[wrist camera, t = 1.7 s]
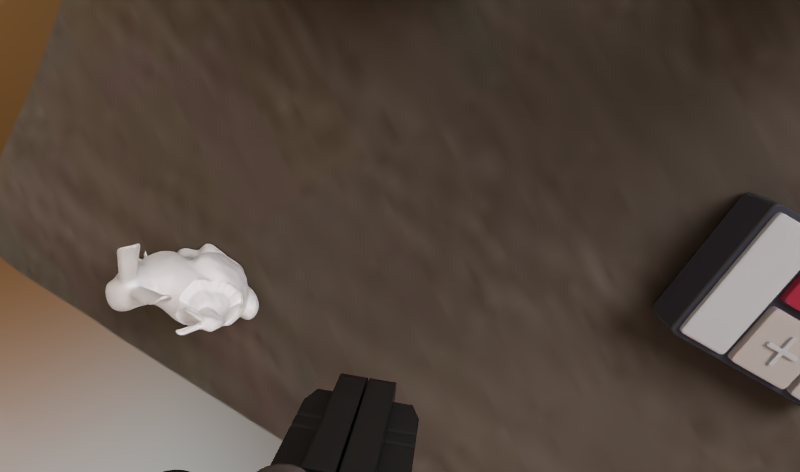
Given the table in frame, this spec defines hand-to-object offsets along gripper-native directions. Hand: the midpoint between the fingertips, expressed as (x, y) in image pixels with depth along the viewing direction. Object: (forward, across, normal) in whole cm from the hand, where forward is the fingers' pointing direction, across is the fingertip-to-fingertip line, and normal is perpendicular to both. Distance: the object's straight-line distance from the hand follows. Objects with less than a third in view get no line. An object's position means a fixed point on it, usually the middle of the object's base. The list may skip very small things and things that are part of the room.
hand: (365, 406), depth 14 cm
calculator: (+27, -27, +4) cm, 39 cm away
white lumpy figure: (+27, +18, +8) cm, 33 cm away
